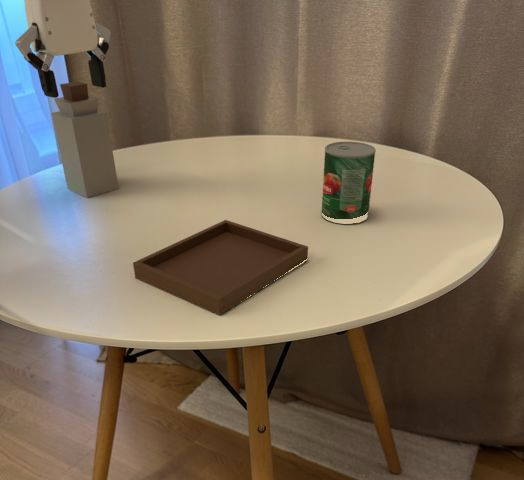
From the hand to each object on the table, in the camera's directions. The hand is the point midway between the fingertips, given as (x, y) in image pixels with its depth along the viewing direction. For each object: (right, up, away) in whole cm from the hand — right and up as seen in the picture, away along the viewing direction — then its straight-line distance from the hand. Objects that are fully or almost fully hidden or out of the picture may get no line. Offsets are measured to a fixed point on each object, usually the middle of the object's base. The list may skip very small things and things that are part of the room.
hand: (76, 91), depth 93 cm
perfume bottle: (0, -14, +10) cm, 17 cm away
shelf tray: (+26, -33, -17) cm, 45 cm away
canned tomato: (+45, -22, -1) cm, 50 cm away
